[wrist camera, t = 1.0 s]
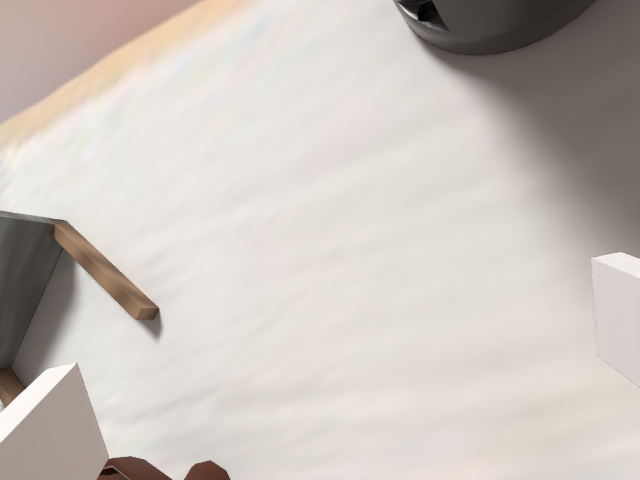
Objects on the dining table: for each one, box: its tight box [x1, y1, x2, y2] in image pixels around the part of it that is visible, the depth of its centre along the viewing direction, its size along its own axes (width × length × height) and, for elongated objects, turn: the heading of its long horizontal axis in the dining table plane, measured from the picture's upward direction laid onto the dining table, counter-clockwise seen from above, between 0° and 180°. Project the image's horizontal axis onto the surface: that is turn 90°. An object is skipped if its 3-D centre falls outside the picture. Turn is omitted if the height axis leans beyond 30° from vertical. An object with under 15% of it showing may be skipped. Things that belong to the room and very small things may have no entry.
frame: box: [0, 211, 158, 407], centre depth 46 cm, size 17×19×8 cm
